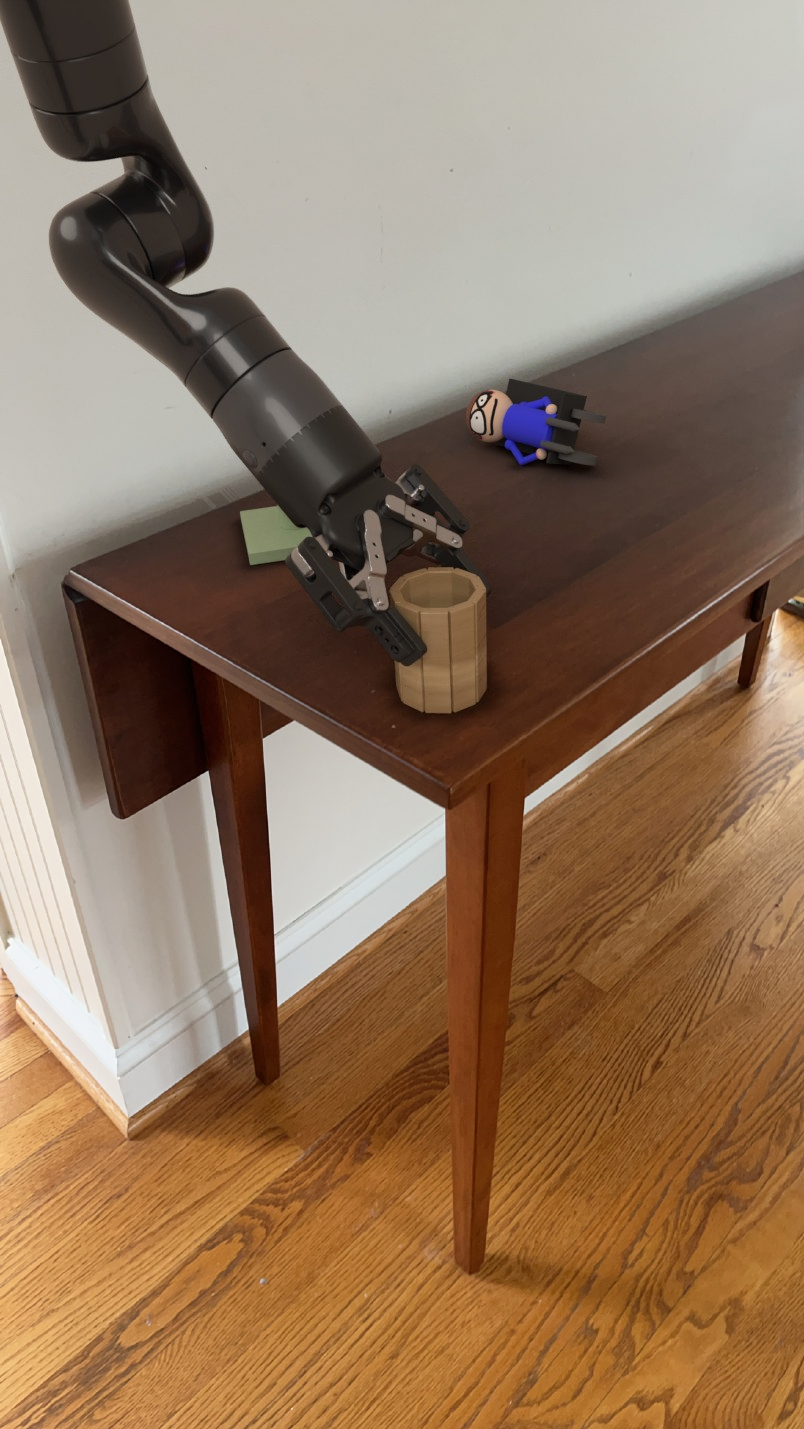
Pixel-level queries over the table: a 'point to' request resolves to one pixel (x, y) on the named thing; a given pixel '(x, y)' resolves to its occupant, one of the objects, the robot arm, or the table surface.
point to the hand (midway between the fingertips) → (451, 628)
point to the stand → (270, 534)
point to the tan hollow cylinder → (443, 638)
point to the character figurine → (532, 422)
